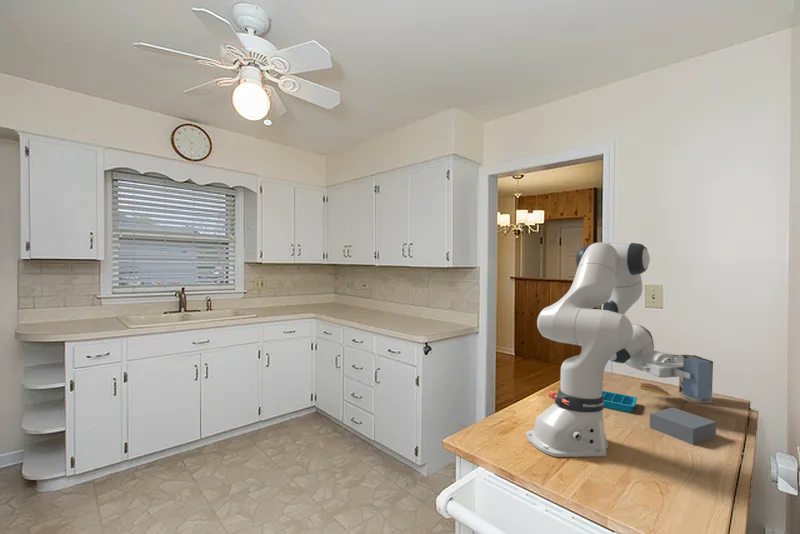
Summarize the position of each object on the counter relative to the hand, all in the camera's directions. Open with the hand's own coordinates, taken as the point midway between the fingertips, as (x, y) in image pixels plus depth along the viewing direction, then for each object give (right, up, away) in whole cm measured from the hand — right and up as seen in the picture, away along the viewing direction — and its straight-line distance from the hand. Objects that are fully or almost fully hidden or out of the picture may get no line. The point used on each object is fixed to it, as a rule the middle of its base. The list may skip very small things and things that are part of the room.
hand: (699, 375), depth 122 cm
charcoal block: (-12, -16, -8) cm, 21 cm away
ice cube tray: (-22, -16, +17) cm, 32 cm away
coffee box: (+16, -15, +21) cm, 31 cm away
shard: (+7, -16, +32) cm, 36 cm away
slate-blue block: (0, -7, +1) cm, 7 cm away
